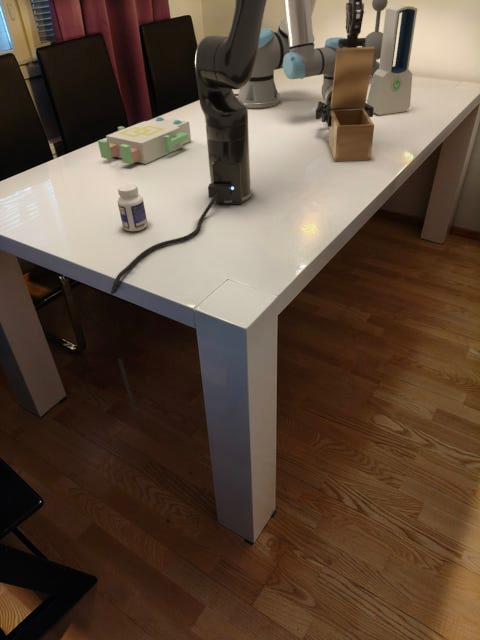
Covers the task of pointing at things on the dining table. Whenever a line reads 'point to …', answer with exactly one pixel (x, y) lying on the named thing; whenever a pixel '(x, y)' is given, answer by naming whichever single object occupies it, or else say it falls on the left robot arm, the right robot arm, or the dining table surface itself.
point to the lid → (351, 74)
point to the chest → (351, 135)
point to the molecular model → (376, 34)
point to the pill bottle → (131, 208)
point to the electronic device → (395, 82)
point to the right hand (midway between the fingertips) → (348, 121)
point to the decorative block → (146, 140)
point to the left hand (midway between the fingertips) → (351, 50)
